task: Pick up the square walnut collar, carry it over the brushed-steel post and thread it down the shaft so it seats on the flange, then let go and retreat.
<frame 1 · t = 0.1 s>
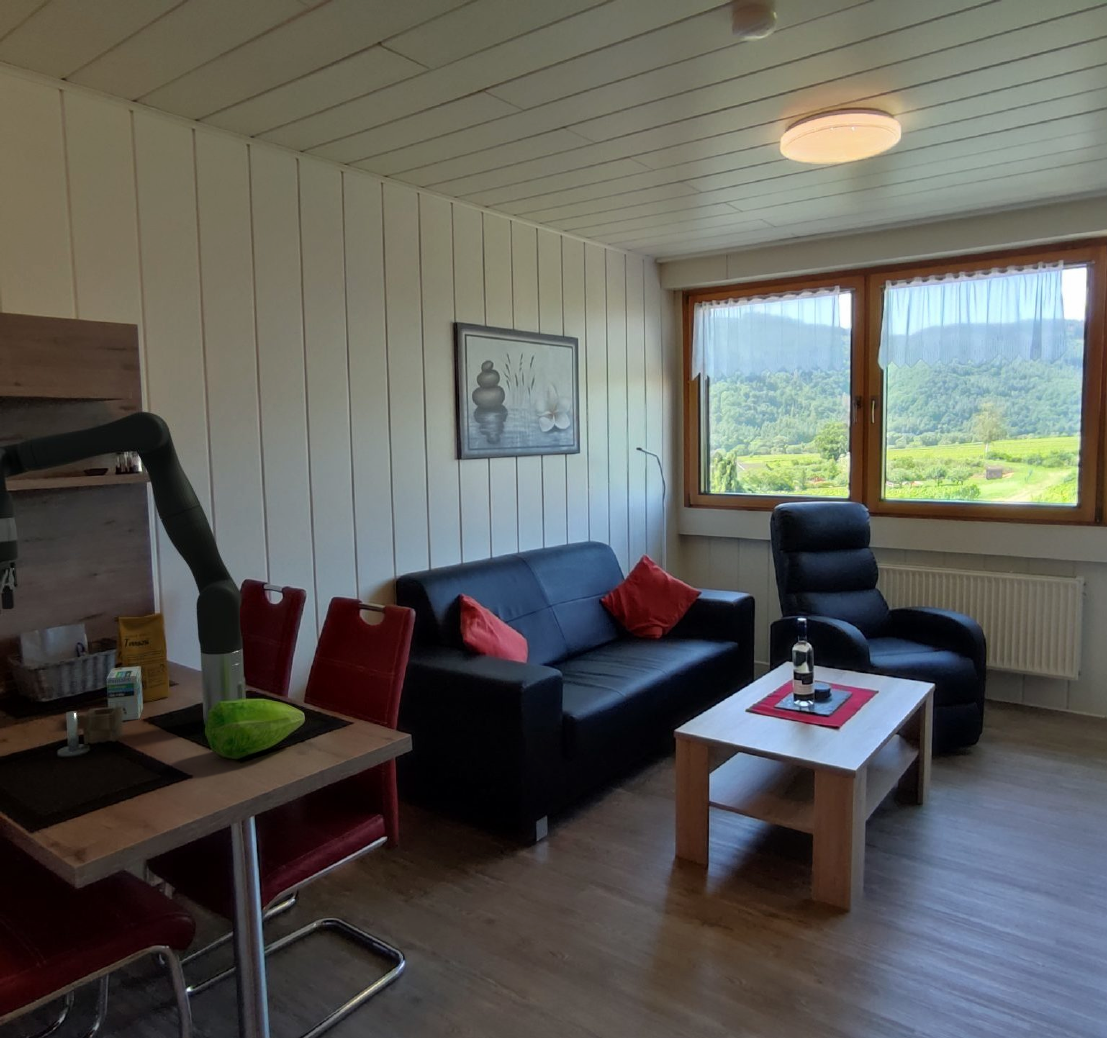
hand: (1, 612, 183), 29 cm above the table, fingers open, 8 cm apart
post: (73, 751, 178), on the table
coffee package: (142, 699, 217), on the table
collar: (104, 737, 187), on the table
lettuce: (257, 753, 177), on the table
light bulb box: (126, 715, 203), on the table
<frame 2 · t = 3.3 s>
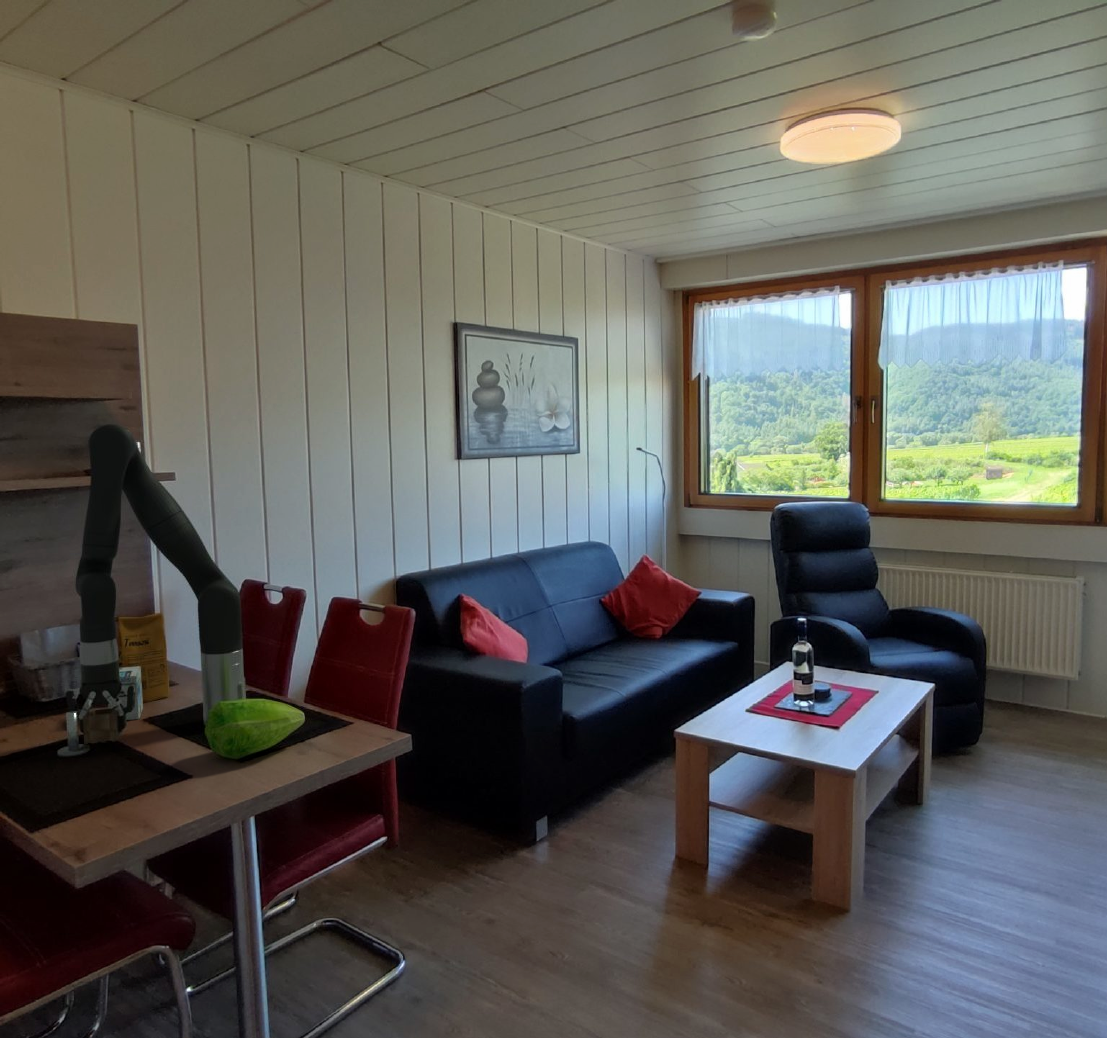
hand: (103, 732, 187), 1 cm above the table, fingers closed on collar, 6 cm apart
collar: (104, 737, 187), on the table, touching gripper
everything else where it was.
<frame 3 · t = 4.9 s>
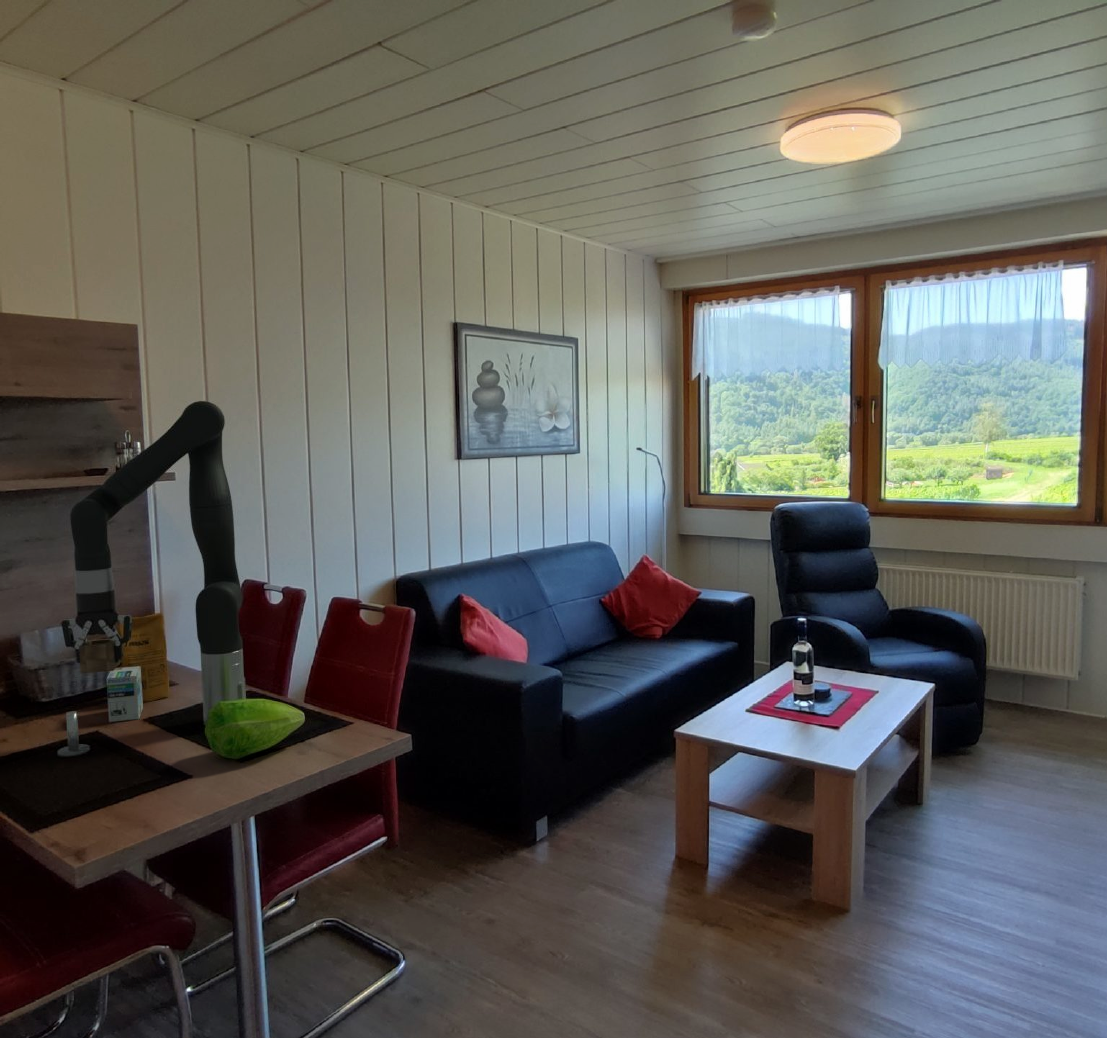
hand: (100, 662, 185), 17 cm above the table, fingers closed on collar, 6 cm apart
collar: (100, 668, 186), point 16 cm above the table, touching gripper
everything else where it was.
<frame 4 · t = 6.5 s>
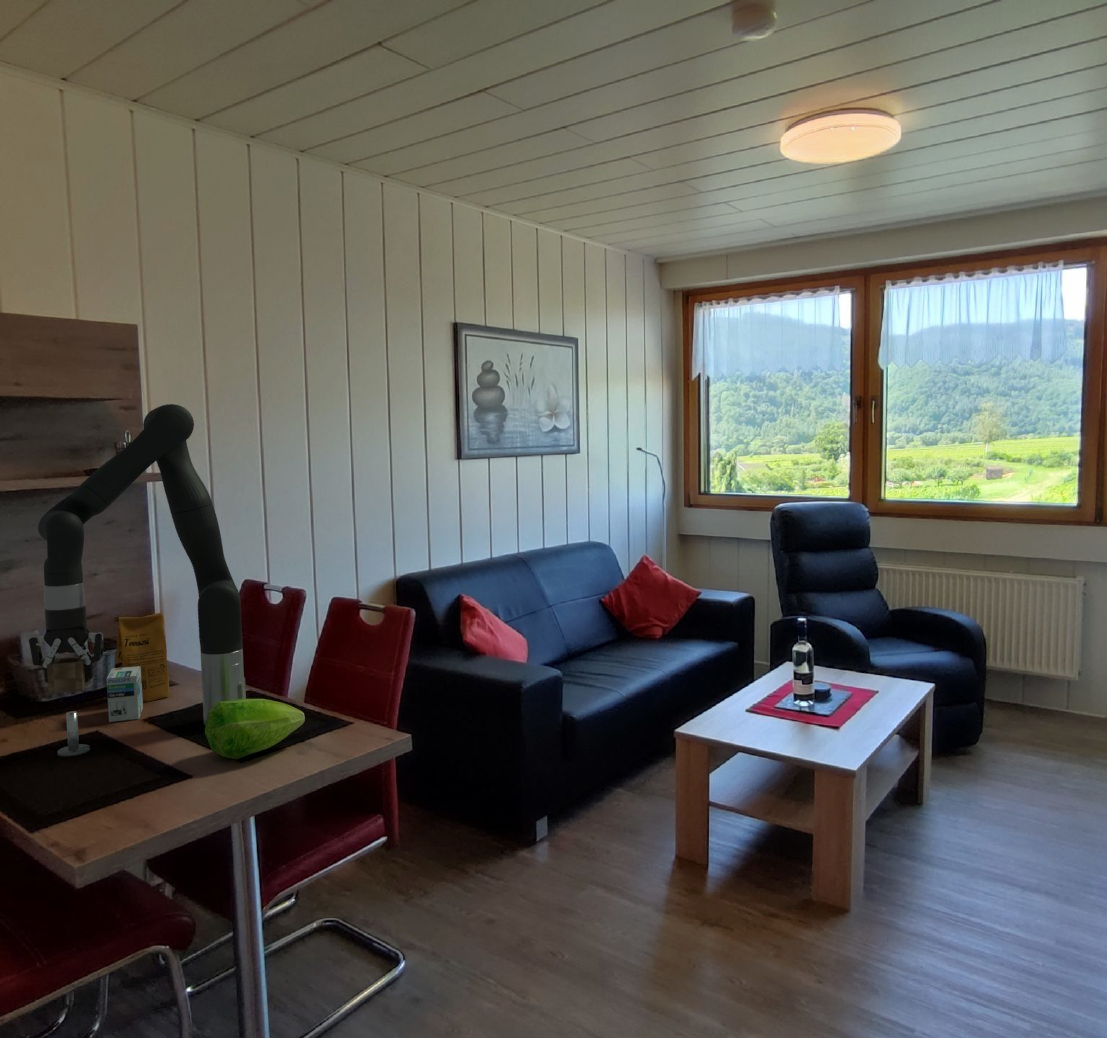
hand: (69, 682, 177), 15 cm above the table, fingers closed on collar, 6 cm apart
collar: (70, 688, 177), point 14 cm above the table, touching gripper
everything else where it was.
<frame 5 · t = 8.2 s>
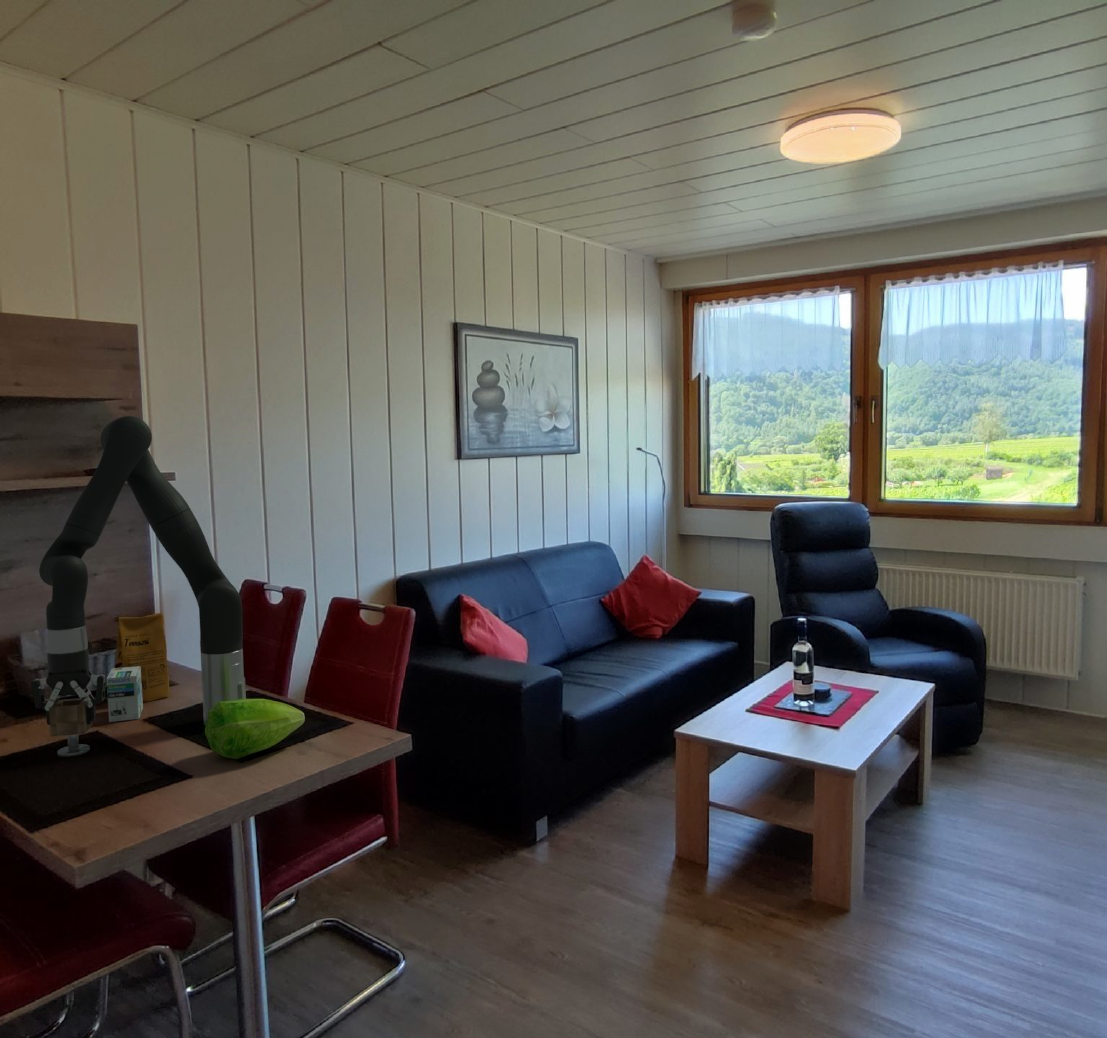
hand: (71, 724, 178), 6 cm above the table, fingers closed on collar, 6 cm apart
collar: (72, 730, 178), point 5 cm above the table, touching gripper
everything else where it was.
when the fingers open (4 cm above the table, at t = 9.8 s): collar drops 2 cm, resting on post.
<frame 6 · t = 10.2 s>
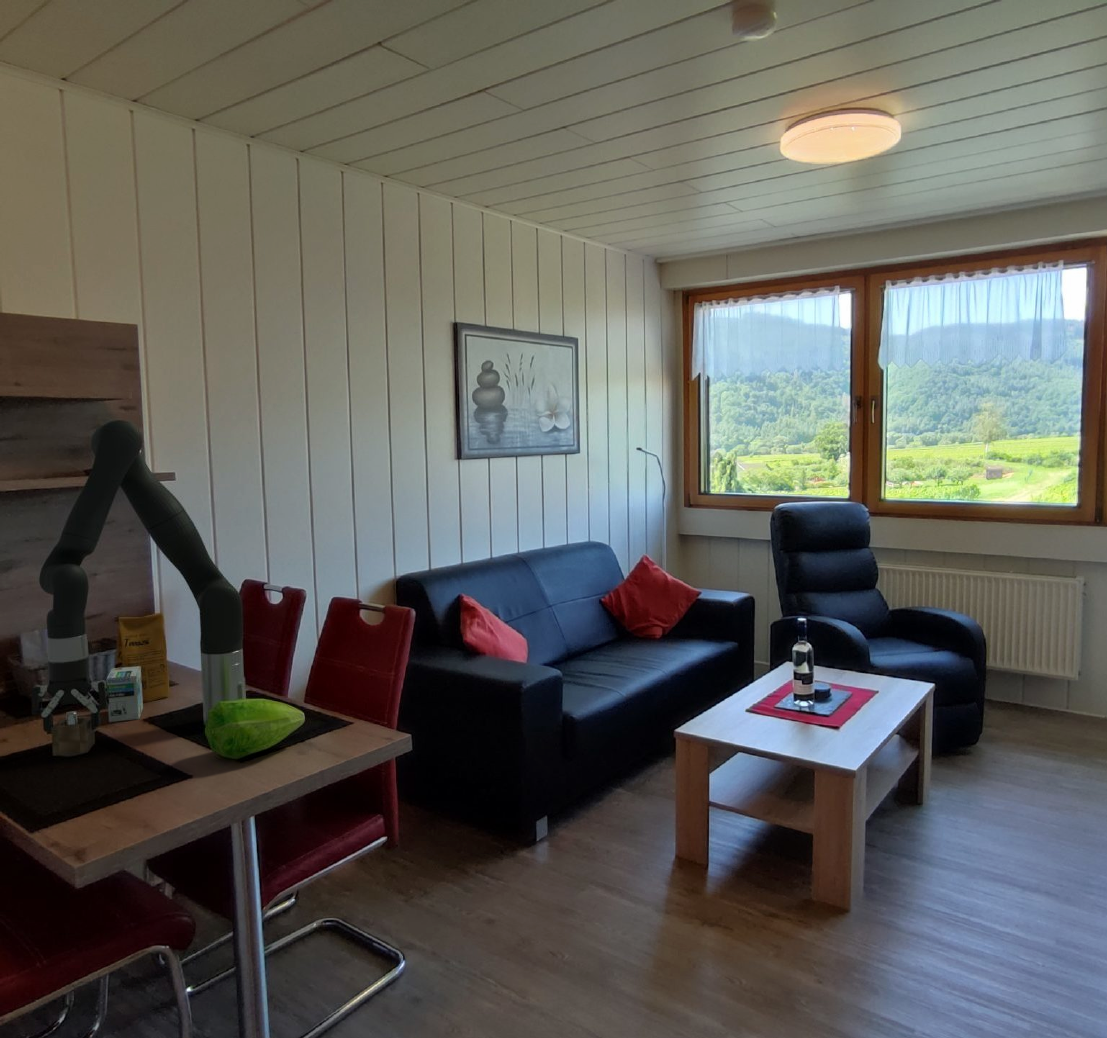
hand: (72, 730, 178), 5 cm above the table, fingers open, 8 cm apart
collar: (74, 749, 178), point 1 cm above the table, touching post
everything else where it was.
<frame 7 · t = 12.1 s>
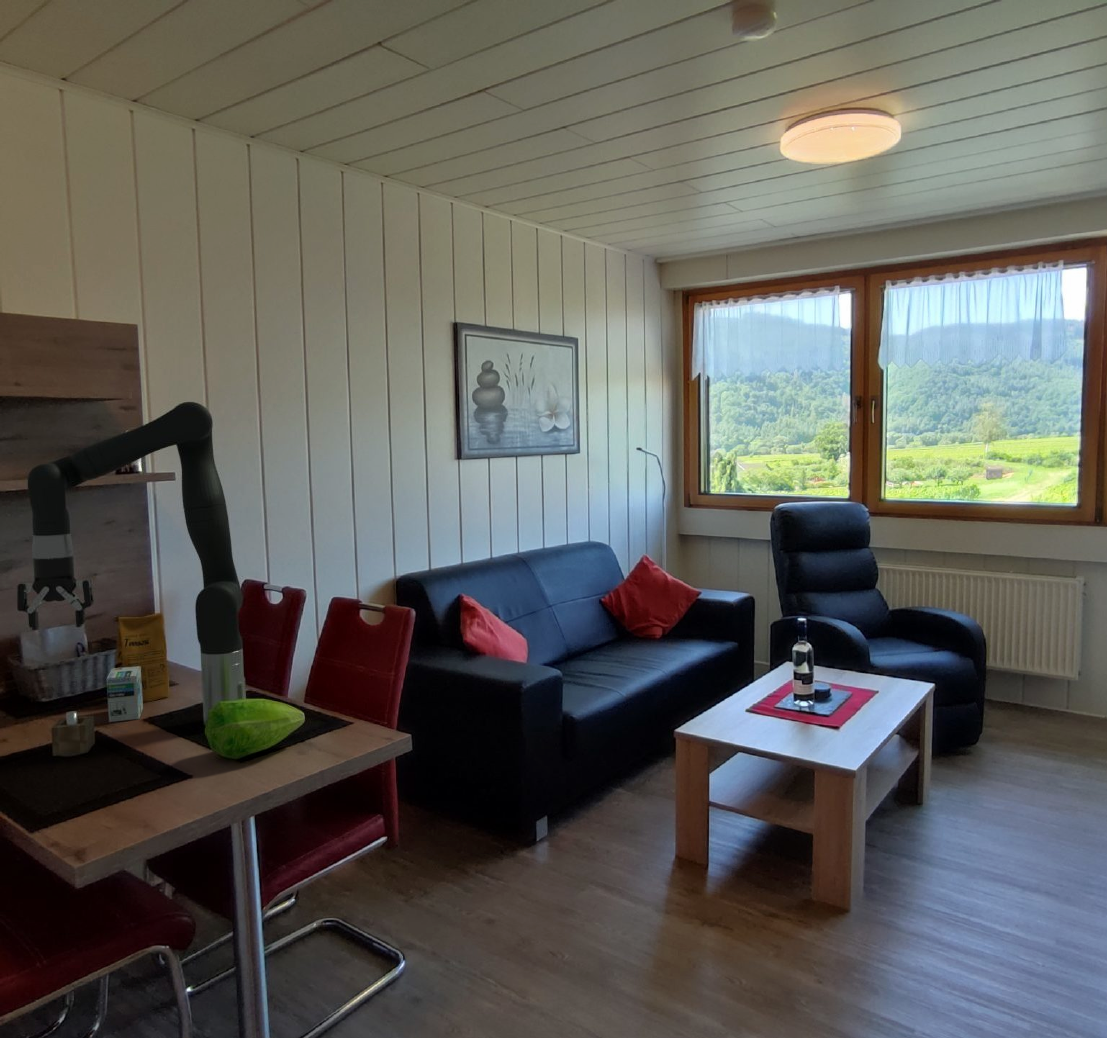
hand: (57, 628, 183), 25 cm above the table, fingers open, 8 cm apart
nothing on the table moved.
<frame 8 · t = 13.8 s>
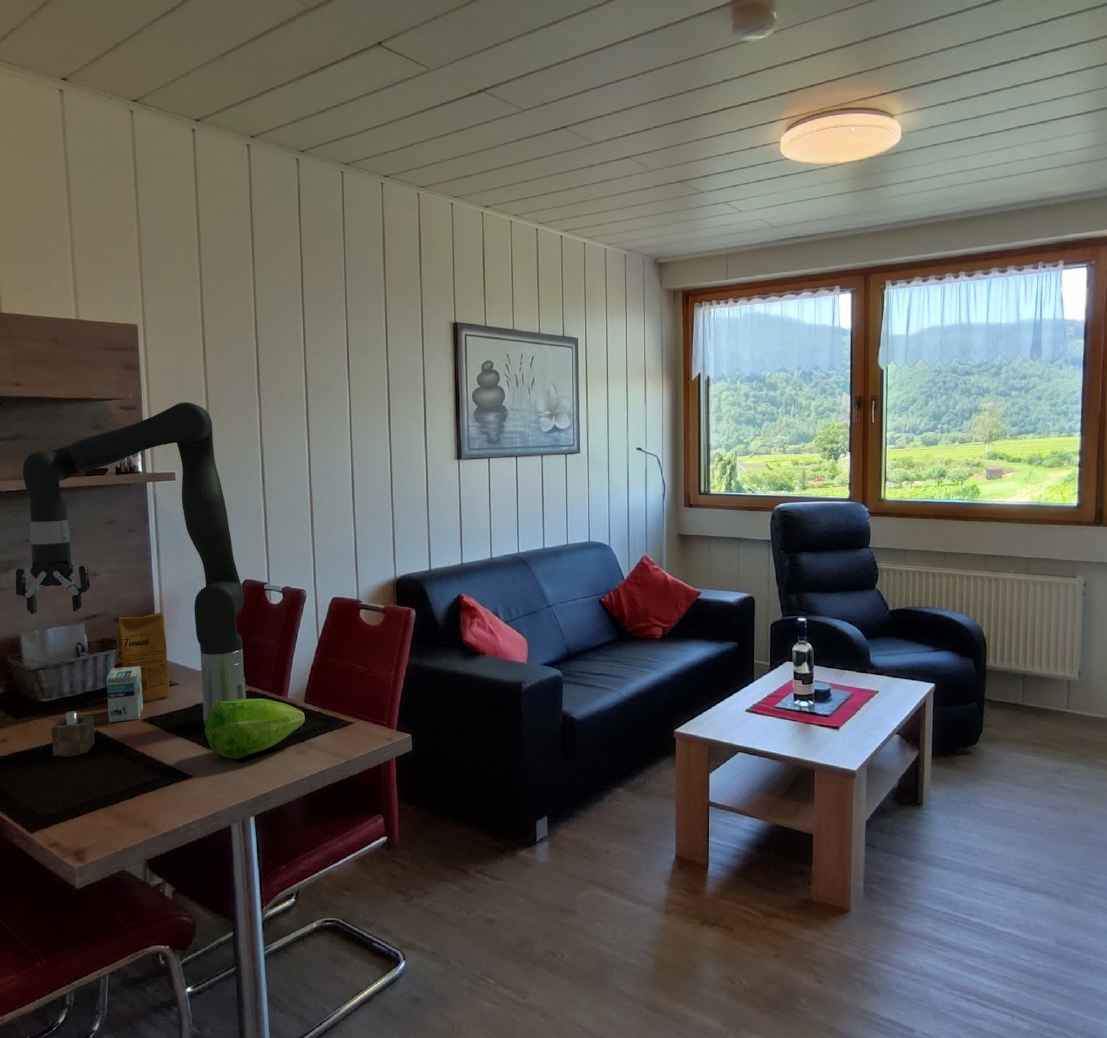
hand: (54, 612, 188), 28 cm above the table, fingers open, 8 cm apart
nothing on the table moved.
at the end: collar 0.1 cm from the post (horizontally); collar point 0.6 cm above the table; the gripper is holding nothing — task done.
